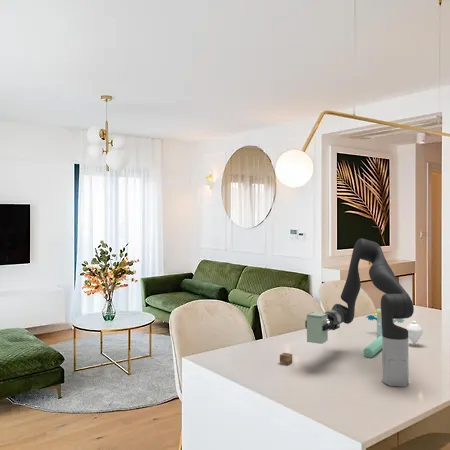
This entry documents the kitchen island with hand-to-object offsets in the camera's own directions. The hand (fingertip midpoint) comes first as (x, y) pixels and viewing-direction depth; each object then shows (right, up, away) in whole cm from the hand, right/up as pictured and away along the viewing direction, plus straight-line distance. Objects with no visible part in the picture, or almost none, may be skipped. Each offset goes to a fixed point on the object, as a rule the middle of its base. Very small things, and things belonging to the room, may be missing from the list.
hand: (315, 327), depth 190 cm
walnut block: (-10, -18, +11) cm, 23 cm away
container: (+34, -18, +29) cm, 48 cm away
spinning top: (+55, -17, +38) cm, 69 cm away
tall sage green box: (+1, -6, +2) cm, 6 cm away
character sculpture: (+48, -17, +59) cm, 78 cm away
